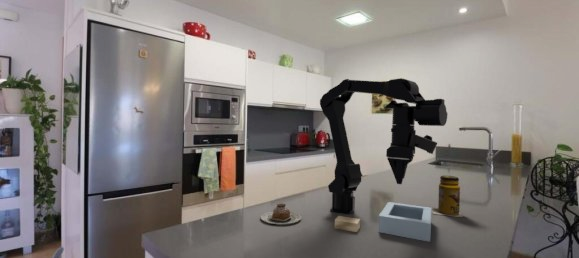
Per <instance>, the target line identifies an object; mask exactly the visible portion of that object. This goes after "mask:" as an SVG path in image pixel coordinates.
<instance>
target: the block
mask: <svg viewBox="0 0 579 258" xmlns="http://www.w3.org/2000/svg"><path fill="white" fill-rule="evenodd" d="M360 228H361V218H356V217H355V218H354V217H347V216H343V215H338V216H337V217H336V218H335V219H334V229H335V230H336V229H337V230H343V231H348V232H353V233H354V232H355V233H357V232H359V230H360Z"/></svg>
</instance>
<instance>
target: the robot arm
mask: <svg viewBox="0 0 579 258" xmlns="http://www.w3.org/2000/svg"><path fill="white" fill-rule="evenodd" d="M355 93H360V94H371V95H381V96H384V97H388V98H392V99H395V100H390V102H388V104H387V105H385V109H389V110H392V122H391V128H390V133H391V143H390V146H389V147H388V148H387V149H386V155H385V157H387V158H386V160H387V161H388V164H389V166H390V169H391V171H392V174H393V176H394V179H395V182H396V184H397V185H402V184H403V181H404V179H405V176H406V172H407V168H408V165H409V164H410V163H411V162H412V161H413V160H414V157H415V154H416V148H417V149H419V150H420V149H421V150H422V151H425V152H427V153H428V154H431V155H433V154H434V152H435V150H436V147H437V146H438V142H436V141H434V140H433V136H431V135H428V134H426V135H425V136H421V135H418V134H416V131H417V130H416V129H415V122H417V125H419V126H427V127H429V126H430V127H432V126H433V127H435V126H436V127H444V126H445V125H446V123H447V121H448V112H447V107H446V104H445V101H446V100H445V99H444V98H443V99H442V98H434V99H425V98H424V97H423V95H422V94H421V93H420V88H419V85H418V84H417V83H416V82H415V81H413V80H409V79H406V78H402V77H401V78H393V79H388V80H384V81H378V80H377V81H374V80H373V81H372V80H360V79H359V80H358V79H357V80H356V79H348V78H345V79H343V80H342V81H341V82H340V83H339V84H338V85H336V86H334V87H332V88H331V89H329V90H328V91H327V92H326V93H324V94H323V95H322V97H321V98H320V100H319V105H320V108H321V111H322V114H323V115H324V116H325V118H326V119H327V121H328V123H329V128H330V134H331V138H332V144H333V149H334V154H335V159H336V165H335V168H334V179H333V180H332V181H331V182H330V183H329V184H328V185H327V187H328V188H327V189H328V192H329V193H332V195H331V201H332V202H331V208H330V212H335V213H341V214H352V213H353V211H354V210H355V209H356V208H355V207H356V205H355V204H356V197H355V196H354V192H356V191H357V188H358V186H359V185H360V184H361V182H362V177H363V174H362V172H361V165H360V163H355V162H354V160H353V159H352V154H351V149H350V145H349V140H348V135H347V130H346V125H345V122H344V116H345V112H346V104H347V103H349V101H351V98H352V96H353V95H354V94H355ZM396 100H398V101H404V102H397V101H396ZM409 104H412V105H409ZM413 104H414V105H413Z"/></svg>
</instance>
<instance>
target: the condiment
mask: <svg viewBox="0 0 579 258" xmlns="http://www.w3.org/2000/svg"><path fill="white" fill-rule="evenodd" d="M459 180H460V179H459V177H457V176H454V175H441V176H440V180H439V182H440V183H439V184H438V202H437V203H438V207H437V208H436V207H430V206H429V208H431V214H433V215H443V216H449V217H458V218H464V216H463V215H462V214H461V213H460V208H461V207H460V206H461V205H460V204H461V203H460V201H461V197H460V195H461V187H460V185H459V184H460V182H459Z"/></svg>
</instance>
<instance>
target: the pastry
mask: <svg viewBox="0 0 579 258" xmlns="http://www.w3.org/2000/svg"><path fill="white" fill-rule="evenodd" d="M268 218H270V220H272V221H269V220H268ZM291 218H293V220H292V221H288V220H290V219H291ZM260 219H261V220H262V221H263V222H264V223H266V224H268V225H277V226H288V225H294V224H295V223H297V222H299V221H301V220H302V216H301V214H299V213H297V212H294V211H290V208H289V207H287V205H286V204H285V203H277V204H276V206H275V207H274V208H273V211H266V212H265V213H264V212H263V213H262V214H261V215H260ZM273 221H275V222H273ZM287 221H288V222H287Z"/></svg>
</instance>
